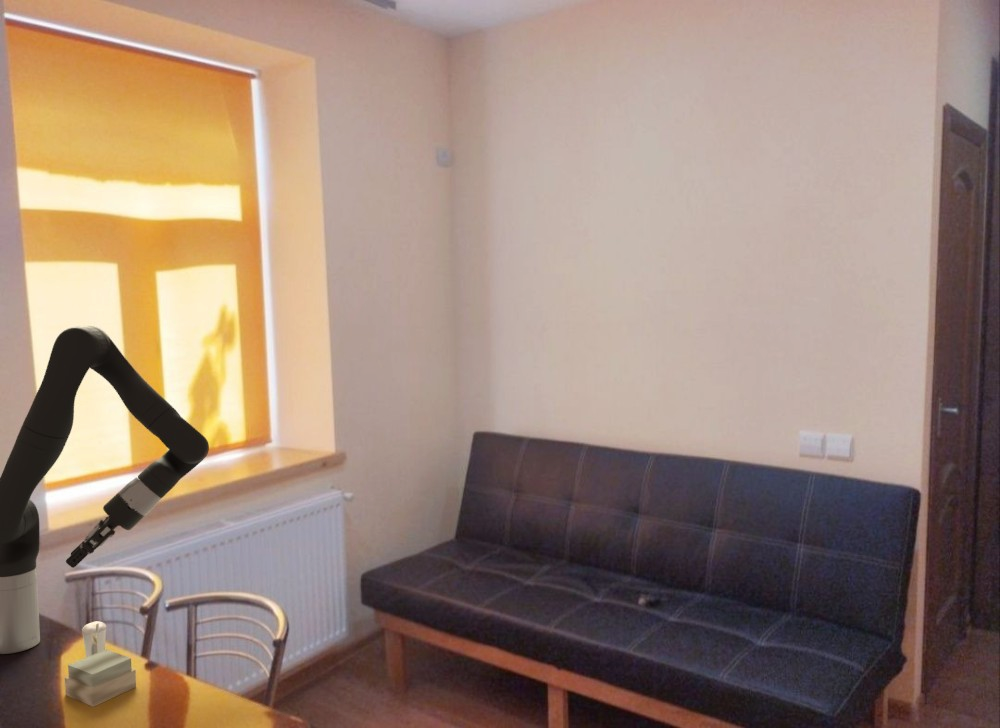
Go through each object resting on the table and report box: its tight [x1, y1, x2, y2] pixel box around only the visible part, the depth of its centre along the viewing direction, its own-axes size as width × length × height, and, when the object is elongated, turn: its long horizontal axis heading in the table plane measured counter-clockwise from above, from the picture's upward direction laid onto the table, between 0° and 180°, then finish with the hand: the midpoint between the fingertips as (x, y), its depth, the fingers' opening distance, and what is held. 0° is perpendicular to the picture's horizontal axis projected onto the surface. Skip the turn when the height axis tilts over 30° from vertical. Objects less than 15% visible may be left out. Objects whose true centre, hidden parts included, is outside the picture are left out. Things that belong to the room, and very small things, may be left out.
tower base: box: [64, 648, 137, 708], centre depth 156 cm, size 9×9×6 cm
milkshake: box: [81, 620, 107, 658], centre depth 166 cm, size 4×5×10 cm
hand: (71, 561), depth 165 cm, fingers open, 8 cm apart
